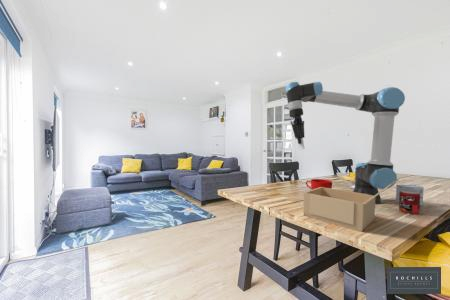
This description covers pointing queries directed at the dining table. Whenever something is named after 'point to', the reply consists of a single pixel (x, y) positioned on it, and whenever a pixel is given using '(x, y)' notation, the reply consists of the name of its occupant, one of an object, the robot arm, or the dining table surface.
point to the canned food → (409, 201)
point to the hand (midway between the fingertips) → (301, 149)
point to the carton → (340, 207)
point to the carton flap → (381, 191)
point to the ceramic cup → (319, 183)
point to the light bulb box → (409, 187)
